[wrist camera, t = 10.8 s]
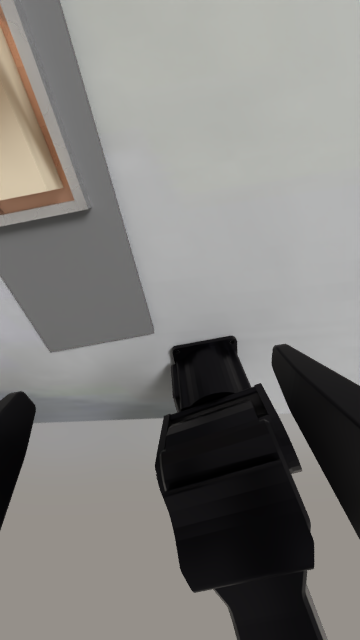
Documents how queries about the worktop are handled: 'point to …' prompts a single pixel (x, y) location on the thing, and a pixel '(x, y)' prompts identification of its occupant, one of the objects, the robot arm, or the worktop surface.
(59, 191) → the frame
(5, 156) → the block
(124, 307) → the mat
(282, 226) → the worktop surface
